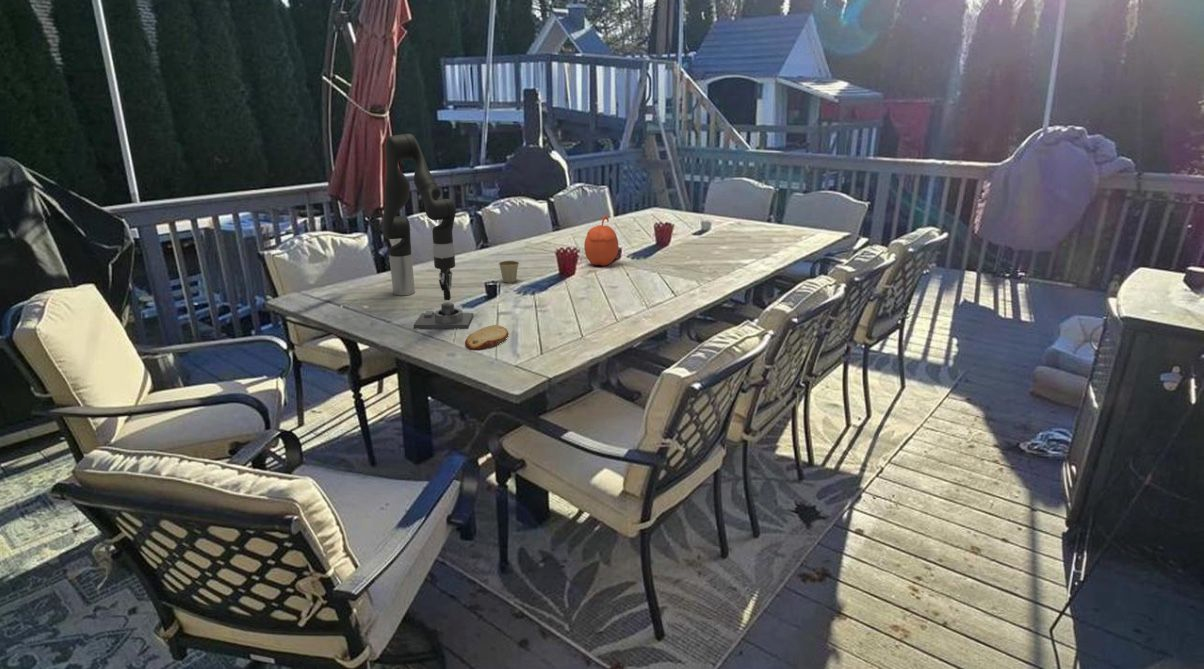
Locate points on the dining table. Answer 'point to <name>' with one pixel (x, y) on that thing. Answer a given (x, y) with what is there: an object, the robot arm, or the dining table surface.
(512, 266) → the flower pot
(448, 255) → the robot arm
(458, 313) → the grey thick ring
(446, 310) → the domed grey cylinder
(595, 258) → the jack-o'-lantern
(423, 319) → the camera plate
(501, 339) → the slice of bread
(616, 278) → the dining table surface
